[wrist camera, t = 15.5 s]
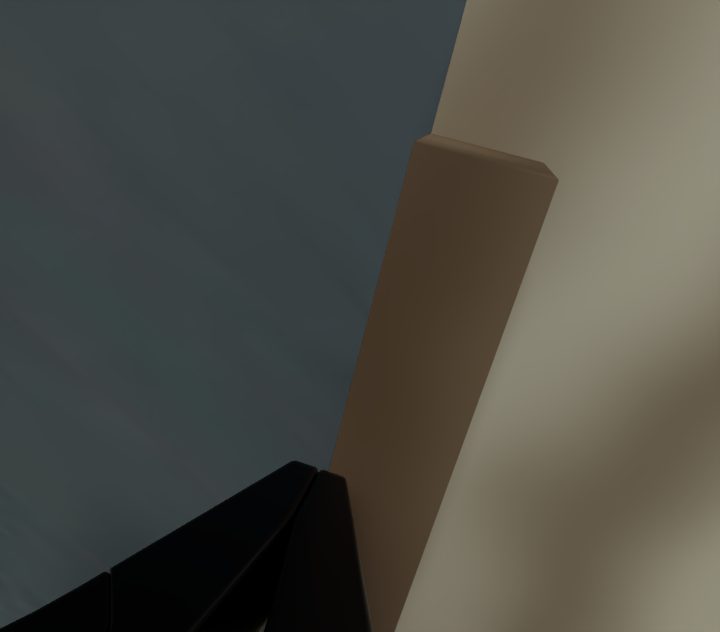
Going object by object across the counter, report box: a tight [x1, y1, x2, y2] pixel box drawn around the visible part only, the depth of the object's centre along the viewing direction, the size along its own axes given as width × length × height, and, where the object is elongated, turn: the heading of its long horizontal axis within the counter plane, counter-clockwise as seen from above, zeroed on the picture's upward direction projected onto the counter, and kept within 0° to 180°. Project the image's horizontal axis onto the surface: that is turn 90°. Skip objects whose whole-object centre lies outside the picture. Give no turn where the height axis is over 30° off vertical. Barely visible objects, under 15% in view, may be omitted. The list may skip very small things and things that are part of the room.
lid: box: [329, 0, 720, 632], centre depth 10 cm, size 13×23×3 cm, turn 167°
